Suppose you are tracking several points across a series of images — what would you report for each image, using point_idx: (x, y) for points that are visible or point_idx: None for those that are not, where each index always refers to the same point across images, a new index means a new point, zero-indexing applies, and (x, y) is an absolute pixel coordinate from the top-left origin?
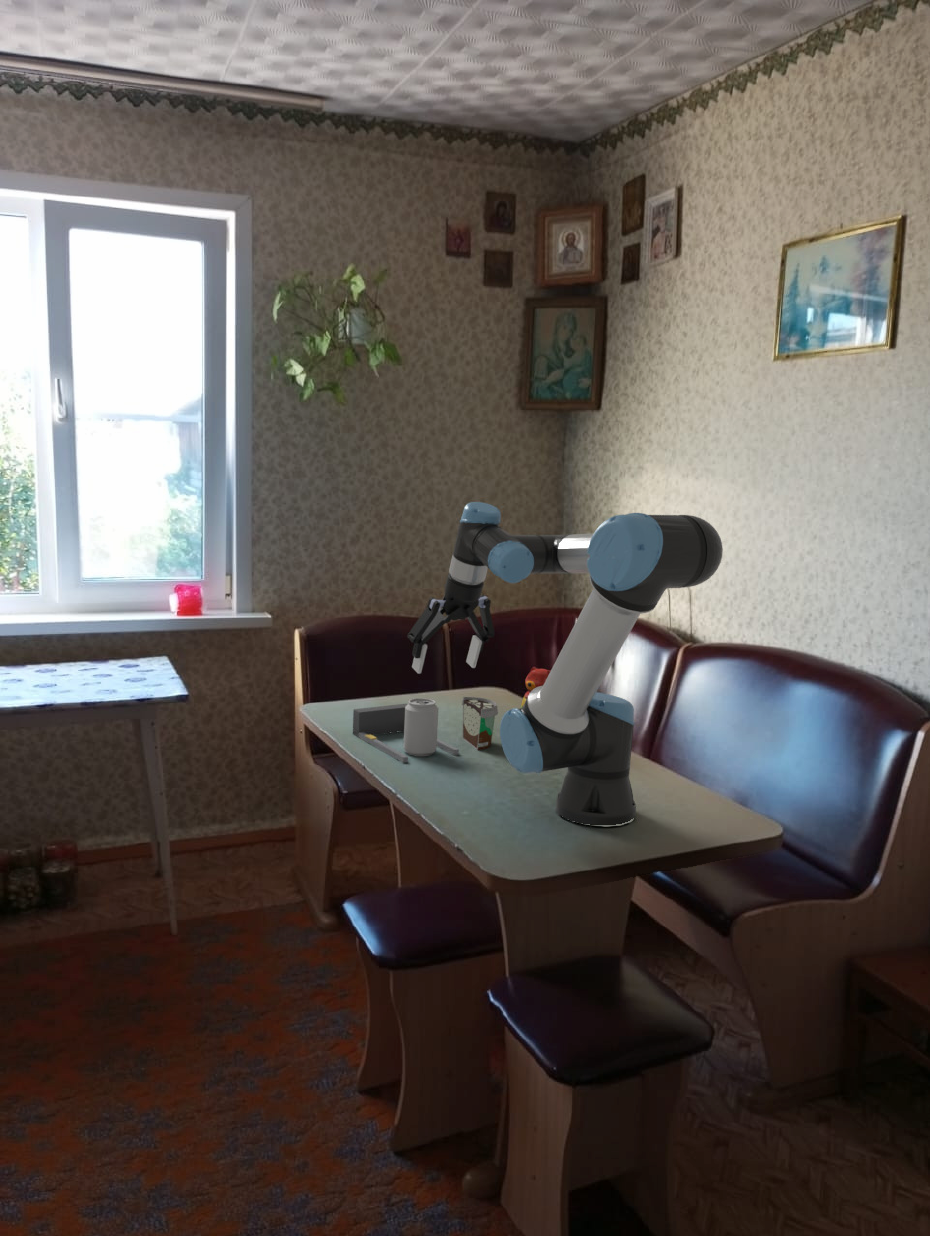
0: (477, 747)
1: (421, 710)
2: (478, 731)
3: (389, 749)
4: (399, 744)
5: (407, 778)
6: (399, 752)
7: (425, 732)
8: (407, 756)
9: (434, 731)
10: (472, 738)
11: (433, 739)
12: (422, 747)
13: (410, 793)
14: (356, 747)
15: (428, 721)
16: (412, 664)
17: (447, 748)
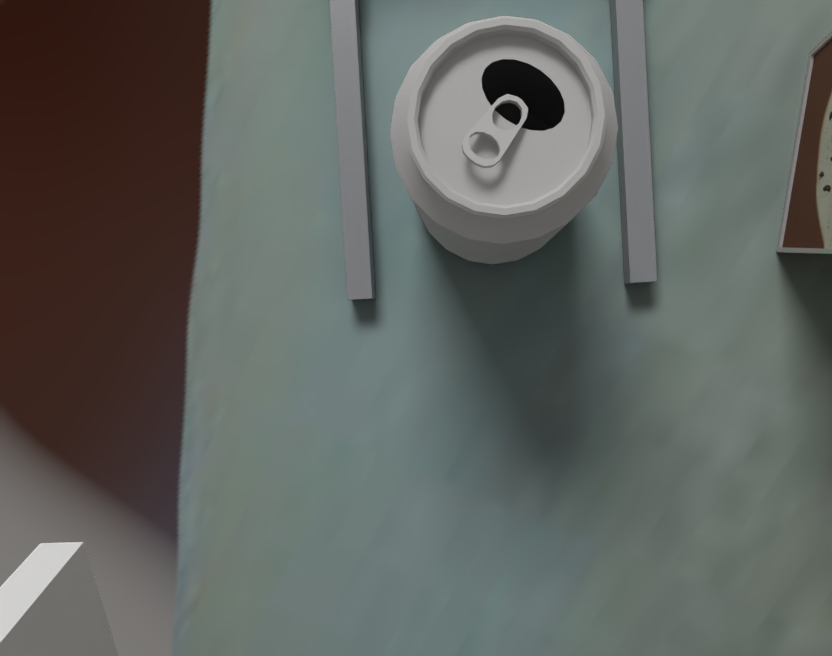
0: (782, 249)
1: (451, 219)
2: (829, 234)
3: (340, 167)
4: None
5: (279, 488)
6: (364, 225)
7: (477, 252)
8: (371, 292)
9: (538, 244)
10: (809, 169)
11: (529, 251)
12: (465, 256)
13: (212, 648)
14: (254, 20)
15: (494, 249)
16: (18, 569)
17: (624, 221)
